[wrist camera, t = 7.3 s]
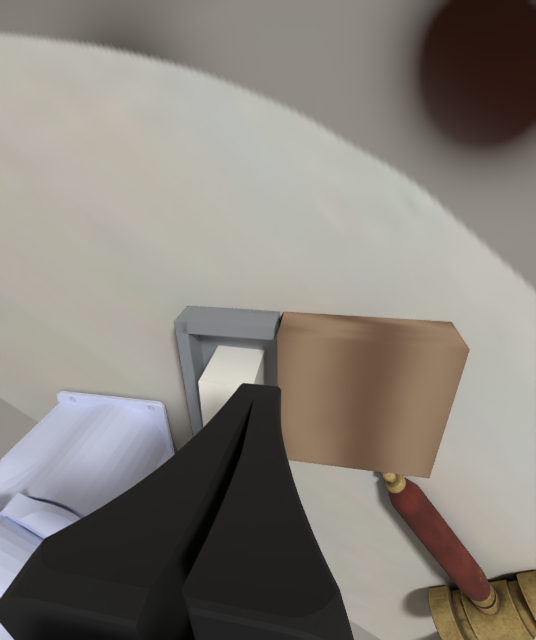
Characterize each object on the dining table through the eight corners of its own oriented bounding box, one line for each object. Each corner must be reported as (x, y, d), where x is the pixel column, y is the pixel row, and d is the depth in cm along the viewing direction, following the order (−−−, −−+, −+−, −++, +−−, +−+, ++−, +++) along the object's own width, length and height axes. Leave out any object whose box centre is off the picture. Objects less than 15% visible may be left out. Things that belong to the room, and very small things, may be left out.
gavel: (327, 513, 26) (459, 474, 22) (330, 465, 30) (441, 424, 26) (458, 663, 30) (587, 654, 26) (445, 604, 34) (555, 588, 30)
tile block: (264, 396, 25) (221, 390, 25) (264, 349, 23) (218, 345, 23) (253, 438, 21) (203, 431, 22) (251, 388, 19) (198, 381, 20)
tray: (203, 417, 27) (193, 438, 25) (187, 306, 23) (173, 321, 21) (279, 426, 26) (275, 449, 24) (279, 311, 22) (274, 328, 20)
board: (283, 427, 26) (277, 458, 24) (283, 311, 22) (277, 335, 19) (418, 442, 25) (429, 478, 22) (451, 322, 20) (469, 349, 17)
